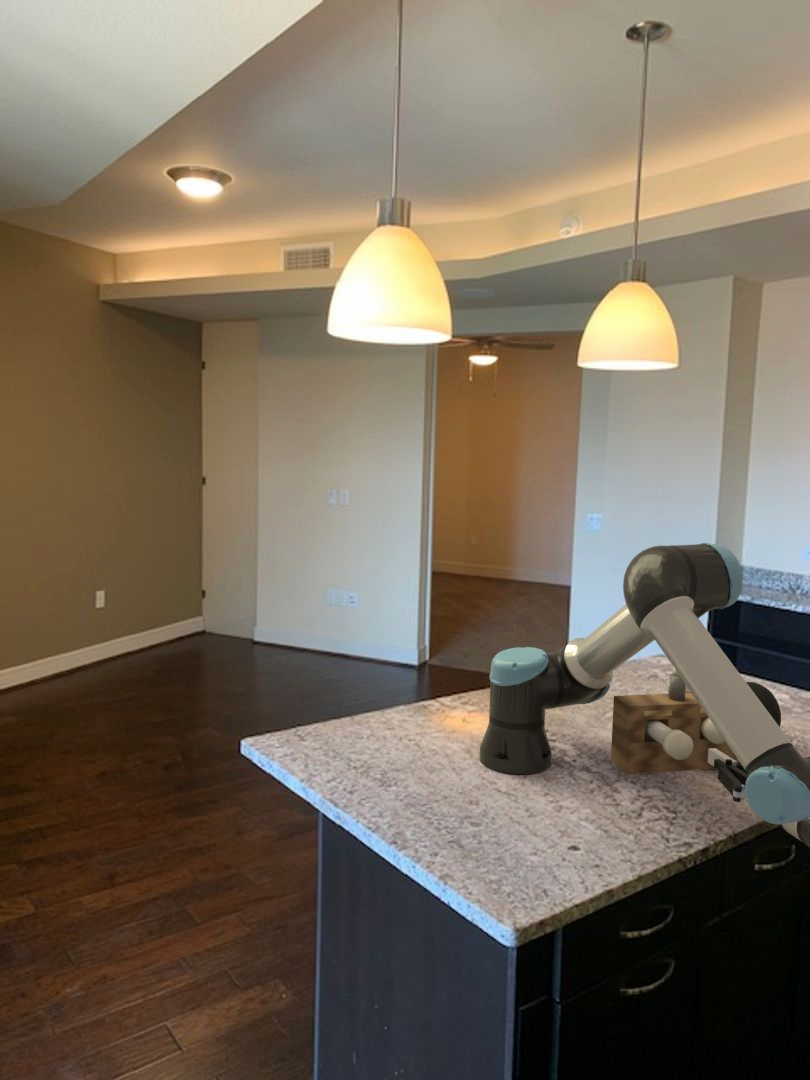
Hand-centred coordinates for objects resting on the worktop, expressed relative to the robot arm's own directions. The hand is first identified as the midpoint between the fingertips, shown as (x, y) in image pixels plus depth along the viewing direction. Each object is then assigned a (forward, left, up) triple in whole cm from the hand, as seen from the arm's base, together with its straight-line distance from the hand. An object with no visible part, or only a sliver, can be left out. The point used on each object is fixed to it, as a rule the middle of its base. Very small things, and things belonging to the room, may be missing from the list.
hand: (711, 755), depth 147 cm
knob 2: (+9, +19, -2) cm, 21 cm away
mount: (+2, +17, -9) cm, 19 cm away
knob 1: (-4, +12, -2) cm, 13 cm away
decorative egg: (+25, +24, -9) cm, 35 cm away
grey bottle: (+2, +17, +6) cm, 18 cm away
